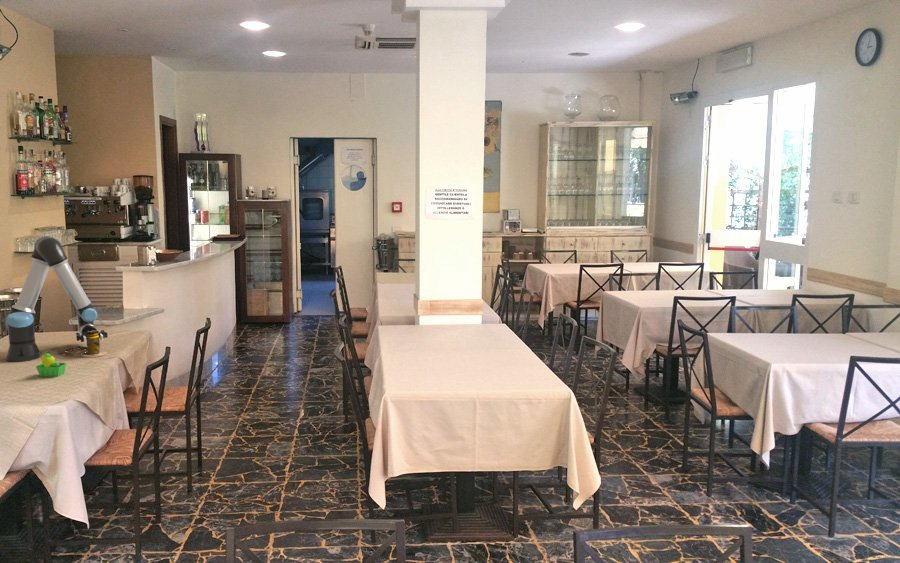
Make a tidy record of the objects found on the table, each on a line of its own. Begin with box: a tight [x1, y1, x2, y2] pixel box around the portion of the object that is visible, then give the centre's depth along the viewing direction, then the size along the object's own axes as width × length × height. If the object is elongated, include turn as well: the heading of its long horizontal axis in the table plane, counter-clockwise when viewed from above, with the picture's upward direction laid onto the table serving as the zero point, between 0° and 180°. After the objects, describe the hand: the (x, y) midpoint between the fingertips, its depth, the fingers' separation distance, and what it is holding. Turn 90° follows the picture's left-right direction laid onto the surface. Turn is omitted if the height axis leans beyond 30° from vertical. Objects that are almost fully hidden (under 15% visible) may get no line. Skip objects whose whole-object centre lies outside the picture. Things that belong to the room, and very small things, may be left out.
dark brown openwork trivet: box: [56, 345, 87, 357], centre depth 399 cm, size 13×12×2 cm
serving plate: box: [81, 350, 108, 358], centre depth 392 cm, size 12×12×1 cm
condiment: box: [81, 329, 102, 356], centre depth 391 cm, size 7×8×12 cm
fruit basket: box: [35, 353, 67, 378], centre depth 352 cm, size 11×9×11 cm
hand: (94, 339), depth 387 cm, fingers open, 7 cm apart
